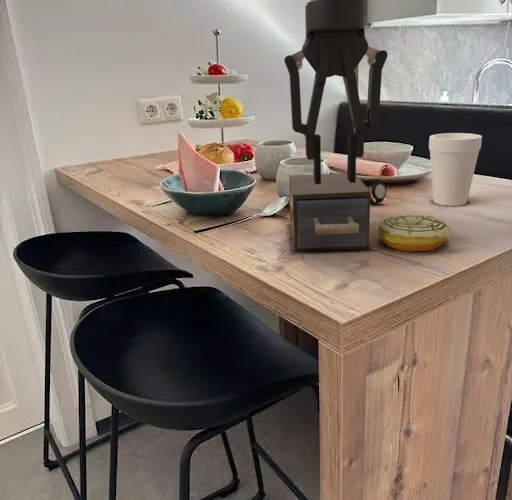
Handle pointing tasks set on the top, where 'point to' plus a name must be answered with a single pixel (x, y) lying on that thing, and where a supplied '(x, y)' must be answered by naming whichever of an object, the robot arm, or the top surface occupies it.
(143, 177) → the top surface
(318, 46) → the robot arm
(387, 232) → the decorated donut
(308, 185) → the cabinet
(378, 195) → the smartwatch
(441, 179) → the foam cup
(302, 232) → the drawer
